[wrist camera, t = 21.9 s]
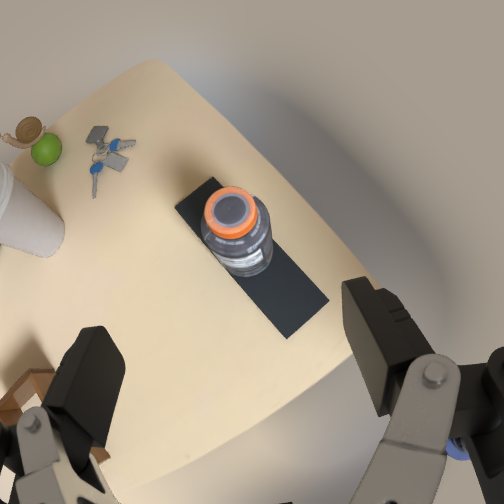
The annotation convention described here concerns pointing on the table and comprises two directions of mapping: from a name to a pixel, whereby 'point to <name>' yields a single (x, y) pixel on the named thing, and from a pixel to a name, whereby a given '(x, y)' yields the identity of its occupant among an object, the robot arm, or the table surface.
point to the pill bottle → (238, 231)
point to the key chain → (113, 159)
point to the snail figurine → (36, 141)
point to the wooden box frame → (24, 391)
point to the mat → (265, 274)
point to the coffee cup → (27, 218)
